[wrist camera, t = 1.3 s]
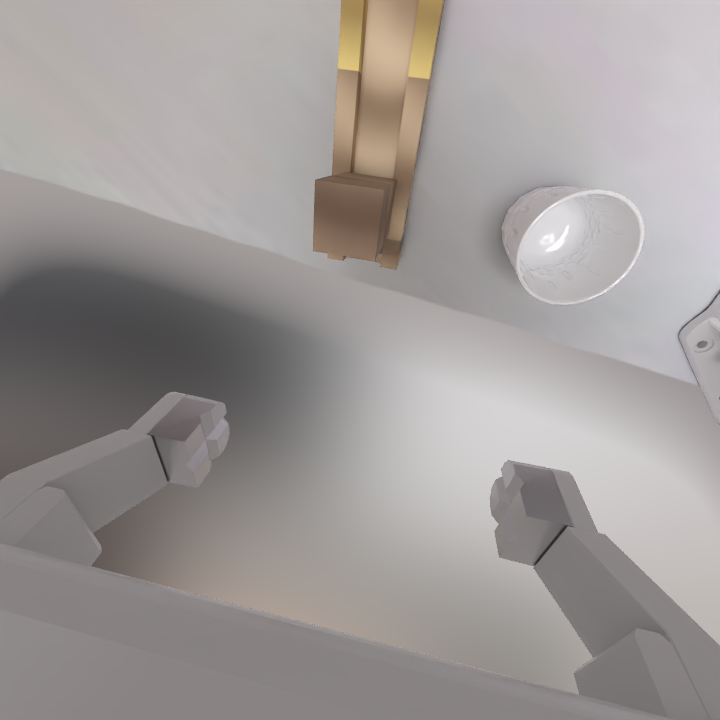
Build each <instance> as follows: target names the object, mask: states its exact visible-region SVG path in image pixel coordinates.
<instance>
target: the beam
mask: <svg viewBox="0 0 720 720" xmlns="http://www.w3.org/2000/svg"><path fill="white" fill-rule="evenodd" d="M443 6H444V0H342V3H341V21H340V40H339V58H338V76H337V94H336V112H335V131H334V149H333V167H332V175H336V174H340V173H344V172H348V173H355V174H362V175H369V176H376V177H383V178H390V179H397V181H396V188H395V194H394V201H393V208H392V214H391V221H390V227H389V234H388V236H387V238H386V240H385V242H384V244H383V246H382V248H381V250H380V252H379V254H378V256H377V258H376V260H375V262H381V265H380V267H384V268H390V269H396V268H397V265H398V261H399V257H400V251H401V245H402V240H403V234H404V228H405V222H406V217H407V211H408V205H409V200H410V194H411V188H412V183H413V177H414V171H415V166H416V160H417V154H418V148H419V143H420V137H421V131H422V126H423V120H424V114H425V109H426V103H427V97H428V92H429V86H430V80H431V74H432V69H433V63H434V57H435V52H436V46H437V40H438V35H439V29H440V23H441V17H442V12H443ZM346 257H347V256H341V255H334V254H328V258H330V259H336V260H342V261H343V260H344V259H345V258H346ZM351 258H353V257H351ZM357 259H359V258H357ZM363 260H365V259H363ZM369 261H371V260H369Z"/></svg>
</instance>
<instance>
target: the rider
mask: <svg viewBox="0 0 720 720" xmlns="http://www.w3.org/2000/svg"><path fill="white" fill-rule="evenodd" d="M396 181H397V179H390V178H383V177H376V176H369V175H362V174H355V173H348V172H344V173H340V174H336V175H332V176H328V177H324V178H320V179H316V180H315V202H314V235H313V251H316V252H322V253H328V254H334V255H341V256H347V257H353V258H359V259H365V260H371V261H375V260H376V258H377V256H378V254H379V252H380V250H381V248H382V246H383V244H384V242H385V240H386V238H387V236H388V234H389V227H390V221H391V214H392V208H393V201H394V194H395V188H396Z"/></svg>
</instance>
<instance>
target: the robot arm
mask: <svg viewBox="0 0 720 720" xmlns="http://www.w3.org/2000/svg"><path fill="white" fill-rule="evenodd" d="M679 339H680V342H681V344H682V346H683V349H684V351H685V353H686V355H687V358H688V360H689V362H690V365H691V367H692V369H693V371H694V374H695V376H696V378H697V381H698V383H699V385H700V387H701V389H702V392H703V394H704V397H705V399H706V401H707V403H708V406H709V408H710V410H711V412H712V415H713V417H714V419H715V420H716V422H717V423H719V424H720V294H719V295H718V296H717V298H716V299H715V300H714V302H713V303H712V304H711V305H710V307H709V308H708V309H707V310H706V311H704V312H703V313H701V314H700V315H699V316H697V317H696V318H695V319H693V320H692V321H691V322H690V323H688V324H687V325H686V326H685V327H684V328H683V329H682V330H681V332H680V334H679ZM701 341H702V342H701ZM699 342H701V343H700V344H698V343H699ZM226 413H227V412H226V408H225V404H224V403H221V402H218V401H214V400H209V399H205V398H201V397H196V396H192V395H186V394H182V393H177V392H171V393H168V394H166V395H165V396H164V397H163V398H162V399H161V400H160V401H159V402H158V403H157V404H155V405H154V406H153V407H152V408H151V409H150V410H149V411H148V412H147V413H146V414H145V415H144V416H142V418H140V419H139V420H138V421H137V422H136V423H135V424H134V425H133V426H132V427H131V428H129V429H128V430H123V429H122V430H119V431H117V432H114V433H112V434H110V435H107V436H105V437H102V438H99V439H97V440H94V441H92V442H89V443H87V444H84V445H82V446H79V447H77V448H74V449H72V450H69V451H67V452H64V453H62V454H59V455H56V456H54V457H52V458H49V459H46V460H44V461H41V462H39V463H36V464H34V465H31V466H29V467H26V468H24V469H22V470H19V471H16V472H14V473H11V474H9V475H7V476H6V477H5V478H3V479H2V480H1V481H0V720H720V645H718V643H717V642H716V641H714V640H713V639H712V638H711V637H710V636H709V635H708V634H707V633H706V632H705V631H704V630H703V629H702V628H701V627H700V626H699V625H698V624H697V623H696V622H695V621H694V620H693V619H692V618H691V617H690V616H689V615H688V614H686V612H684V611H683V610H682V609H681V608H680V607H679V606H678V605H677V604H676V603H675V602H674V601H673V600H672V599H671V598H670V597H669V596H668V595H667V594H666V593H665V592H664V591H663V590H662V589H661V588H660V587H659V586H658V585H657V584H656V583H655V582H653V581H652V580H651V579H650V578H649V577H648V576H647V575H646V574H645V573H644V572H643V571H642V570H641V569H640V568H639V567H638V566H637V565H636V564H635V563H634V562H633V561H632V560H631V559H630V558H629V557H628V556H627V555H625V554H624V552H622V551H621V550H620V549H619V548H618V547H617V546H616V545H615V544H614V543H613V542H612V541H611V540H610V539H609V538H608V537H607V536H606V535H605V534H600V533H598V531H597V529H596V527H595V525H594V522H593V520H592V518H591V515H590V513H589V511H588V509H587V507H586V504H585V502H584V500H583V498H582V496H581V493H580V491H579V489H578V487H577V484H576V482H575V480H574V478H573V476H572V475H571V474H570V473H569V472H566V471H561V470H555V469H551V468H545V467H540V466H535V465H530V464H525V463H520V462H515V461H509V460H508V461H507V462H505V463H504V465H503V467H502V469H501V471H502V475H503V477H501V478H498V479H496V480H495V482H494V484H493V487H492V490H491V496H490V507H491V513H492V516H493V517H494V518H495V520H496V521H497V522H498V523H499V525H498V526H497V528H496V530H495V537H496V543H497V548H498V554H499V557H500V558H504V559H508V560H512V561H516V562H519V563H523V564H527V565H531V566H535V567H534V569H535V571H536V572H537V574H538V575H539V577H540V578H541V580H542V581H543V583H544V584H545V586H546V587H547V589H548V590H549V592H550V593H551V595H552V596H553V598H554V599H555V601H556V602H557V604H558V605H559V607H560V608H561V610H562V611H563V613H564V614H565V616H566V617H567V619H568V620H569V622H570V623H571V625H572V626H573V628H574V629H575V631H576V632H577V634H578V635H579V637H580V638H581V640H582V641H583V643H584V644H585V646H586V647H587V649H588V650H589V652H590V653H591V655H592V656H593V658H592V659H591V660H589V661H588V662H586V663H585V664H583V665H582V666H580V667H579V668H578V669H577V670H576V671H575V673H574V676H575V680H576V684H577V687H578V691H579V694H576V693H571V692H568V691H564V690H560V689H556V688H553V687H549V686H545V685H541V684H538V683H533V682H529V681H526V680H522V679H518V678H515V677H510V676H507V675H503V674H499V673H495V672H492V671H488V670H484V669H480V668H477V667H473V666H469V665H465V664H461V663H457V662H454V661H450V660H446V659H442V658H438V657H435V656H431V655H427V654H423V653H419V652H415V651H411V650H408V649H404V648H400V647H397V646H393V645H389V644H385V643H381V642H377V641H374V640H370V639H366V638H362V637H358V636H355V635H351V634H347V633H343V632H339V631H335V630H332V629H328V628H324V627H320V626H316V625H313V624H309V623H305V622H301V621H297V620H293V619H290V618H285V617H282V616H278V615H274V614H271V613H267V612H263V611H259V610H255V609H251V608H247V607H244V606H240V605H236V604H232V603H229V602H225V601H221V600H217V599H213V598H209V597H206V596H202V595H198V594H194V593H190V592H186V591H183V590H179V589H175V588H171V587H167V586H164V585H160V584H156V583H152V582H148V581H144V580H141V579H137V578H133V577H129V576H126V575H122V574H118V573H114V572H110V571H106V570H103V569H99V568H95V567H91V565H92V563H93V562H94V561H95V560H96V558H97V557H98V556H99V555H100V553H101V545H100V544H99V542H98V541H97V539H96V538H95V536H94V535H93V533H94V532H95V531H97V530H98V529H99V528H101V527H103V526H104V525H106V524H107V523H109V522H110V521H112V520H113V519H115V518H117V517H118V516H120V515H121V514H123V513H124V512H126V511H127V510H129V509H130V508H132V507H133V506H135V505H136V504H138V503H139V502H141V501H143V500H144V499H145V498H147V497H149V496H150V495H152V494H153V493H155V492H156V491H158V490H159V489H161V488H162V487H164V486H165V485H167V484H168V482H171V483H176V484H181V485H186V486H191V487H197V488H198V486H199V485H200V484H201V482H202V481H203V479H204V478H205V476H206V475H207V474H208V472H209V471H210V469H211V460H212V459H214V458H216V457H218V456H219V455H220V454H221V453H222V451H223V450H224V448H225V446H226V444H227V441H228V438H229V424H228V423H227V422H226V421H225V420H224V418H223V417H224V415H225V414H226Z"/></svg>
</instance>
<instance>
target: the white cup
mask: <svg viewBox="0 0 720 720" xmlns="http://www.w3.org/2000/svg"><path fill="white" fill-rule="evenodd" d="M501 231H502V243H503V245H504V247H505V250H506V253H507V256H508V258H509V260H510V263H511V265H512V267H513V269H514V270H515V272H516V274H517V276H518V278H519V280H520V282H521V284H522V285H523V287H524V288H525V289H526V291H527V292H528V293H529V294H531V295H532V296H533V297H535V298H537V299H538V300H541V301H543V302H546V303H550V304H555V305H571V304H577V303H582V302H585V301H588V300H591V299H593V298H596V297H598V296H600V295H602V294H604V293H605V292H607V291H608V290H610V289H611V288H613V287H614V286H615V285H616V284H618V283H619V282H620V281H621V280H622V279H623V278H624V277H625V276H626V275H627V274H628V272H629V271H630V270H631V269H632V267H633V266H634V264H635V263H636V261H637V259H638V257H639V255H640V252H641V250H642V247H643V243H644V236H645V228H644V222H643V218H642V215H641V213H640V211H639V210H638V208H637V207H636V205H635V204H634V203H633V202H632V201H631V200H629V199H628V198H626V197H625V196H623V195H621V194H619V193H616V192H613V191H608V190H599V189H590V188H582V187H571V186H555V187H538V188H536V189H534V190H532V191H530V192H528V193H526V194H524V195H522V196H521V197H520V198H519V199H518V200H517V201H516V202H515V203H514V204H513V205H512V206H511V207H510V209H509V210H508V211H507V213H506V216H505V219H504V221H503V224H502V227H501Z"/></svg>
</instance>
